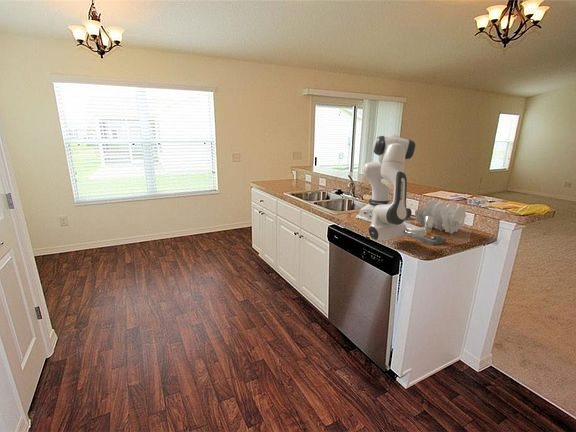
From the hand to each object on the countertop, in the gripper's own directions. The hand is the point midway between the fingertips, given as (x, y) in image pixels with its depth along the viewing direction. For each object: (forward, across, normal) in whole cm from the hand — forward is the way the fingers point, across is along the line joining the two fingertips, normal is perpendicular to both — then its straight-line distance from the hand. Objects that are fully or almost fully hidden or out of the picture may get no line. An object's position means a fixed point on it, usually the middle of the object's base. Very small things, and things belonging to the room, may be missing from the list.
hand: (417, 226), depth 156 cm
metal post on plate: (+9, 0, +6) cm, 11 cm away
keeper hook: (+9, -6, +7) cm, 12 cm away
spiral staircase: (+30, +10, +9) cm, 33 cm away
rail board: (+9, +5, +9) cm, 13 cm away
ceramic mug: (+29, +39, +9) cm, 49 cm away
